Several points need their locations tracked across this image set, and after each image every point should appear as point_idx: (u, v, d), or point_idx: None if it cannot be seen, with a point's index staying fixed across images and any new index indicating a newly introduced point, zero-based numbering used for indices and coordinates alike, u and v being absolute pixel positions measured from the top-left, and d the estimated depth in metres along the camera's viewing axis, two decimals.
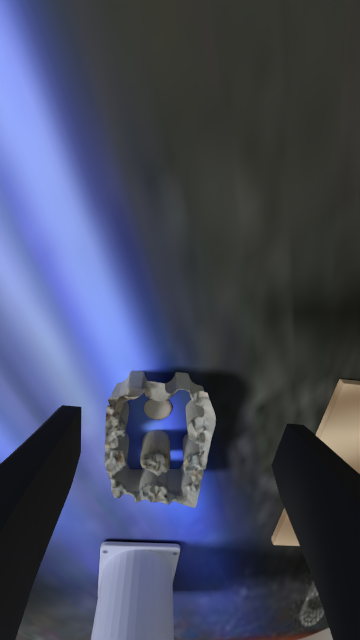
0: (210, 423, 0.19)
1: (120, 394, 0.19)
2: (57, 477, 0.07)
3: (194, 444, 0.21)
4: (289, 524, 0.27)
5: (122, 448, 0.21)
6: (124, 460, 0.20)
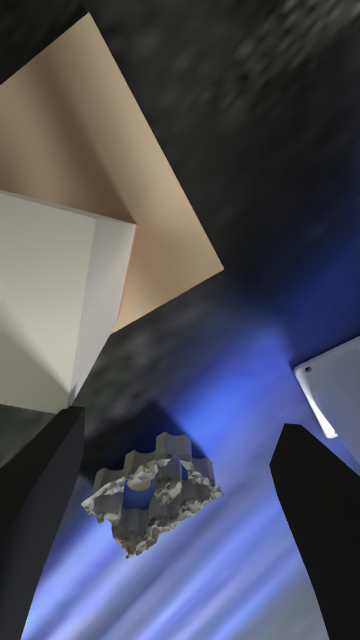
0: (95, 496, 0.22)
1: (135, 525, 0.25)
2: (61, 477, 0.07)
3: (135, 465, 0.22)
4: (173, 285, 0.18)
5: (177, 503, 0.24)
6: (180, 507, 0.23)
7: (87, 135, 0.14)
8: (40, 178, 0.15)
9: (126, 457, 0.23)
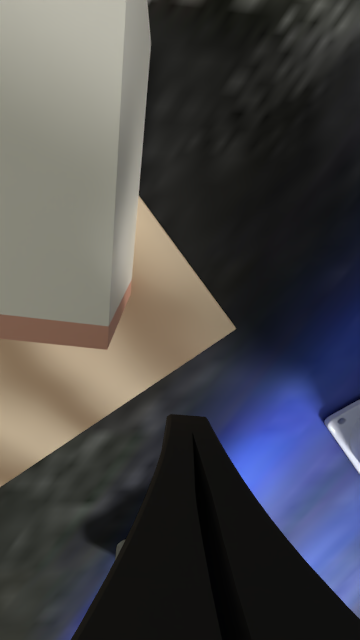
0: None
1: None
2: None
3: None
4: (180, 352, 0.15)
5: None
6: None
7: None
8: None
9: None
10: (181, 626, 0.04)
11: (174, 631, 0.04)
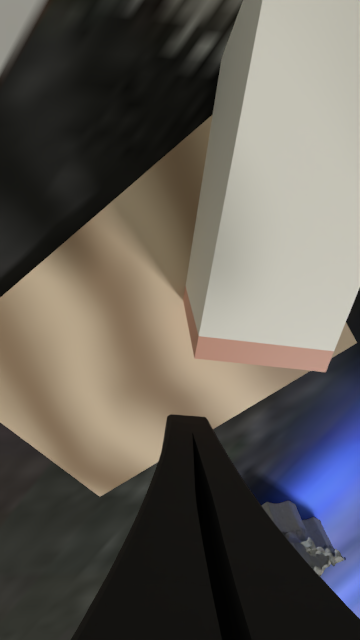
0: None
1: None
2: None
3: None
4: None
5: None
6: None
7: None
8: (163, 278, 0.14)
9: None
10: (181, 626, 0.04)
11: (174, 631, 0.04)
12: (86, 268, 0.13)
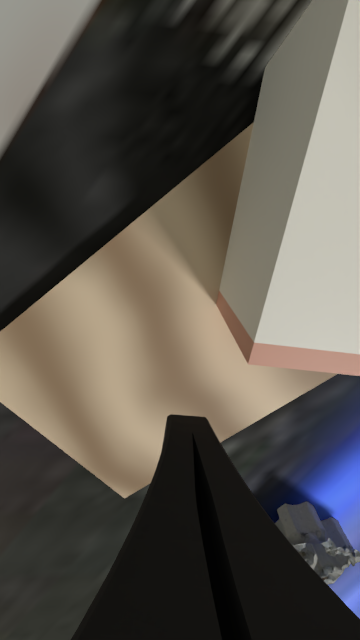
0: None
1: None
2: None
3: None
4: None
5: None
6: None
7: None
8: (197, 282, 0.14)
9: None
10: (181, 626, 0.04)
11: (174, 631, 0.04)
12: (122, 272, 0.14)
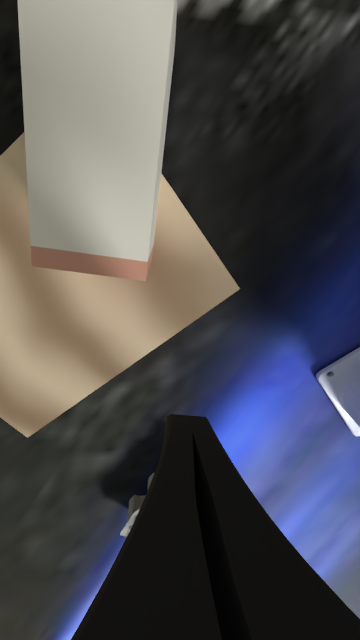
0: (128, 525, 0.23)
1: None
2: None
3: None
4: (192, 309, 0.18)
5: None
6: None
7: None
8: None
9: (148, 481, 0.24)
10: (181, 626, 0.04)
11: (174, 631, 0.04)
12: None
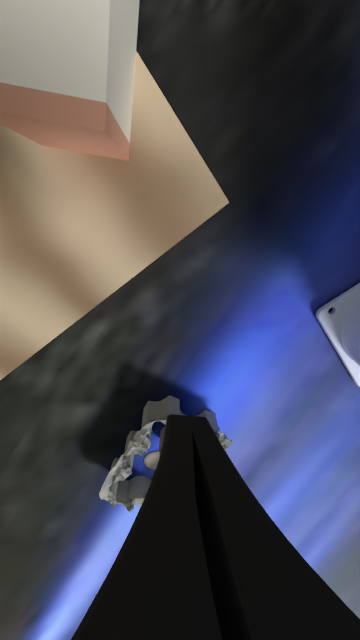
0: (106, 486, 0.21)
1: None
2: None
3: None
4: (176, 227, 0.16)
5: None
6: None
7: None
8: None
9: (126, 440, 0.23)
10: (181, 626, 0.04)
11: (174, 631, 0.04)
12: None
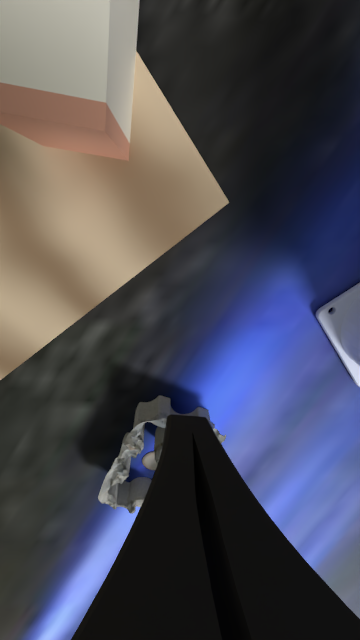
0: (104, 490, 0.21)
1: None
2: None
3: None
4: (176, 227, 0.16)
5: None
6: None
7: None
8: None
9: (122, 442, 0.23)
10: (181, 626, 0.04)
11: (174, 631, 0.04)
12: None
